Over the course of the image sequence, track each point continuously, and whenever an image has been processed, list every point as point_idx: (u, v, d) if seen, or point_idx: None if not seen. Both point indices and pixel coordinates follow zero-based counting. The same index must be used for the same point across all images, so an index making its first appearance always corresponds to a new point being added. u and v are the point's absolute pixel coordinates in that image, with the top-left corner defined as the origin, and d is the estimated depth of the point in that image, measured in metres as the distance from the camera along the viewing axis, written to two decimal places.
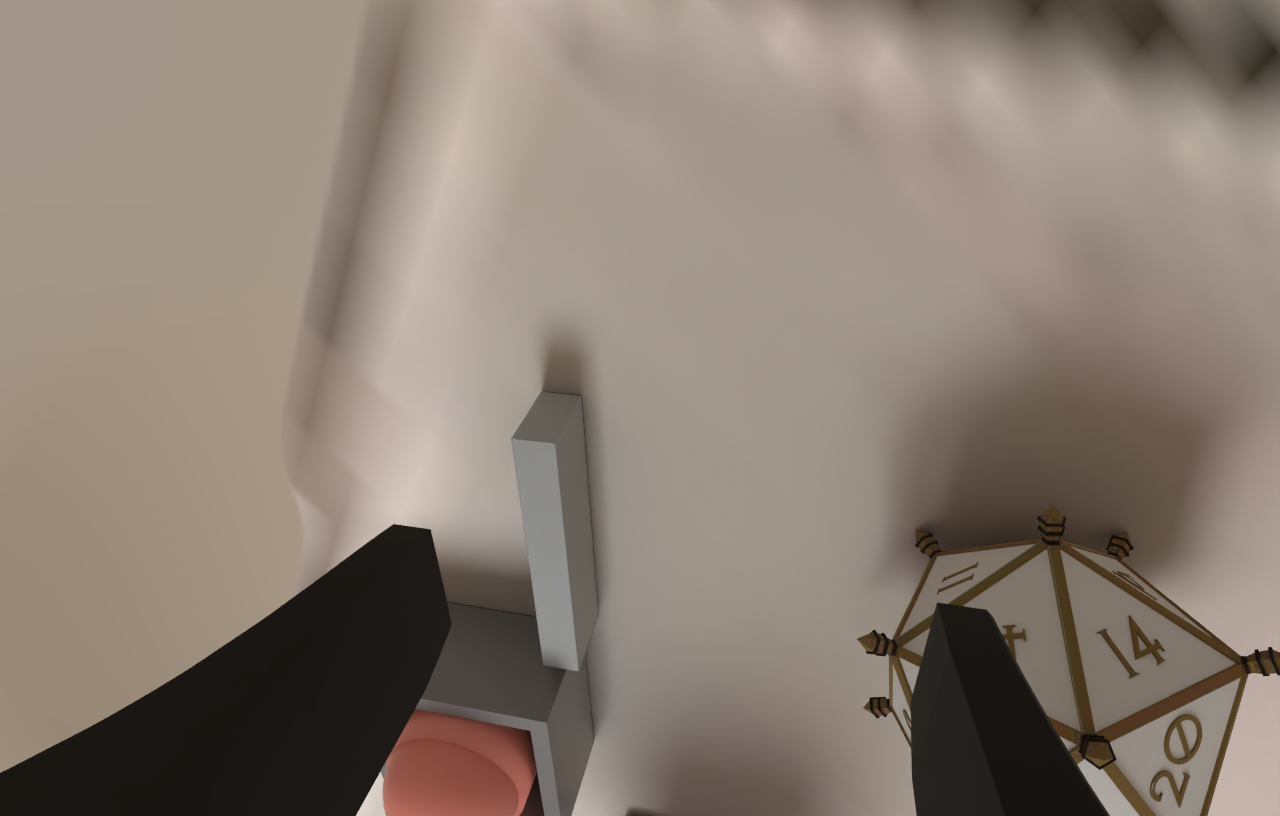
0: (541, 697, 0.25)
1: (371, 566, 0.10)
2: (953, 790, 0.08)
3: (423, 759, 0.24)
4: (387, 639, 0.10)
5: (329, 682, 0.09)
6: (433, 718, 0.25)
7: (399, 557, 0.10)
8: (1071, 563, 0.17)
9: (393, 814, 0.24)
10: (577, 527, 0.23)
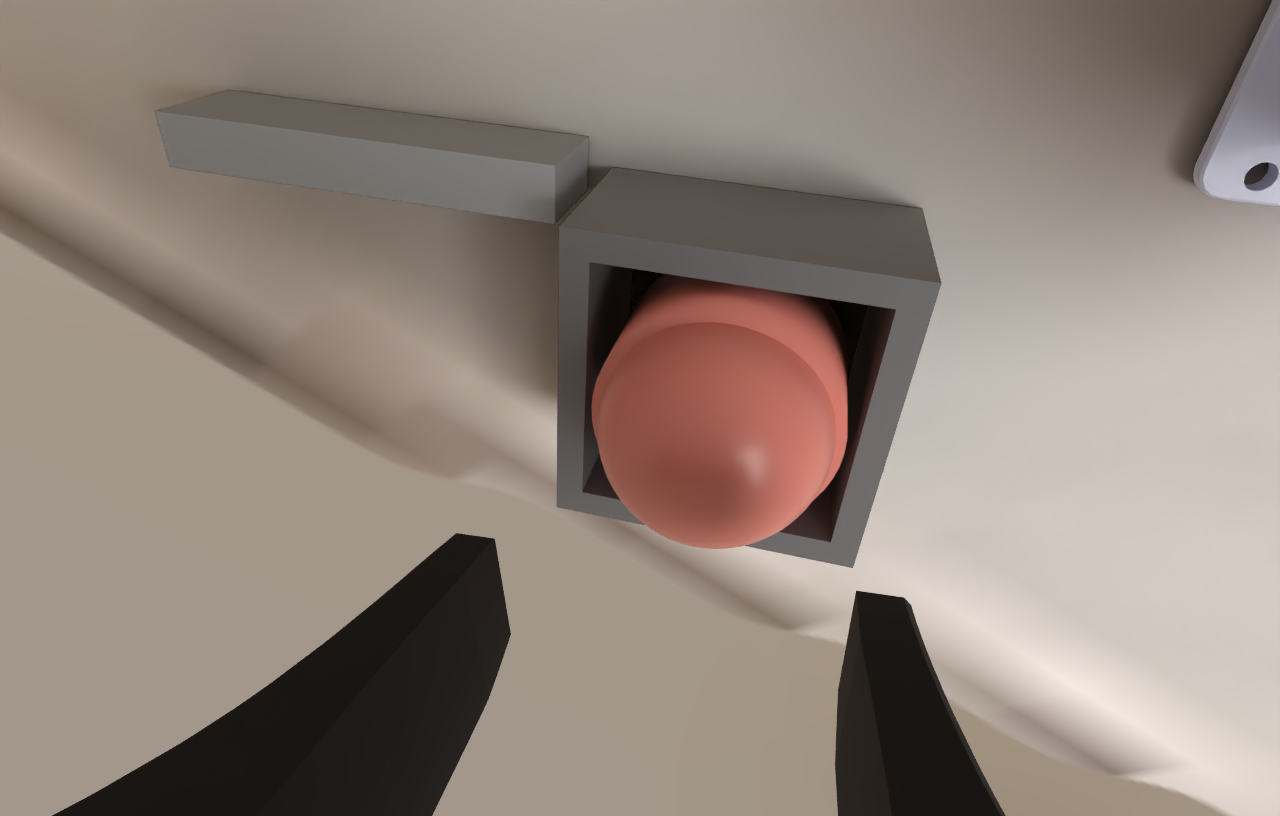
0: None
1: (441, 577, 0.10)
2: (859, 772, 0.09)
3: None
4: (456, 651, 0.10)
5: (405, 697, 0.09)
6: None
7: (468, 567, 0.10)
8: None
9: (649, 524, 0.14)
10: (345, 121, 0.17)
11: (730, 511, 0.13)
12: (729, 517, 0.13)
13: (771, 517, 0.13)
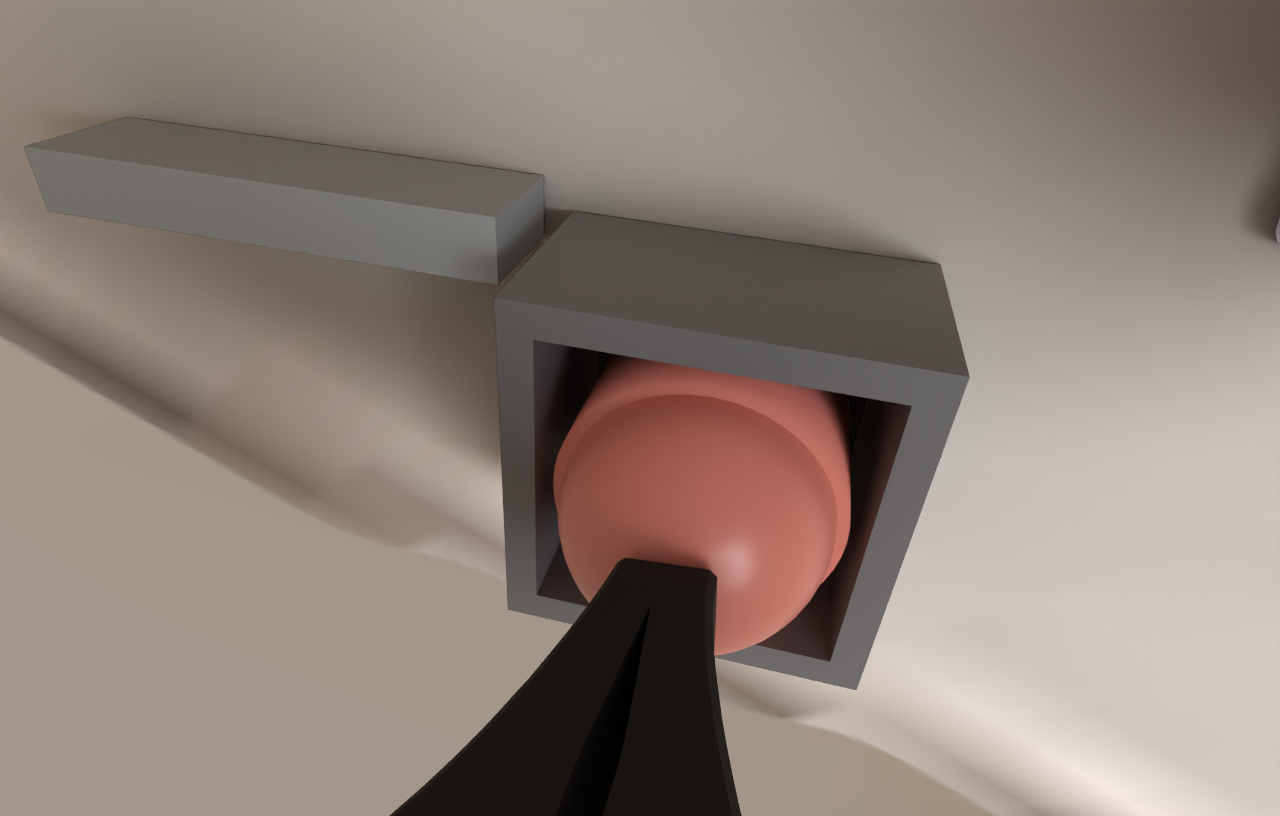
0: None
1: (629, 607, 0.09)
2: None
3: None
4: None
5: (610, 736, 0.08)
6: None
7: (652, 596, 0.10)
8: None
9: None
10: (253, 157, 0.14)
11: None
12: None
13: (760, 627, 0.11)
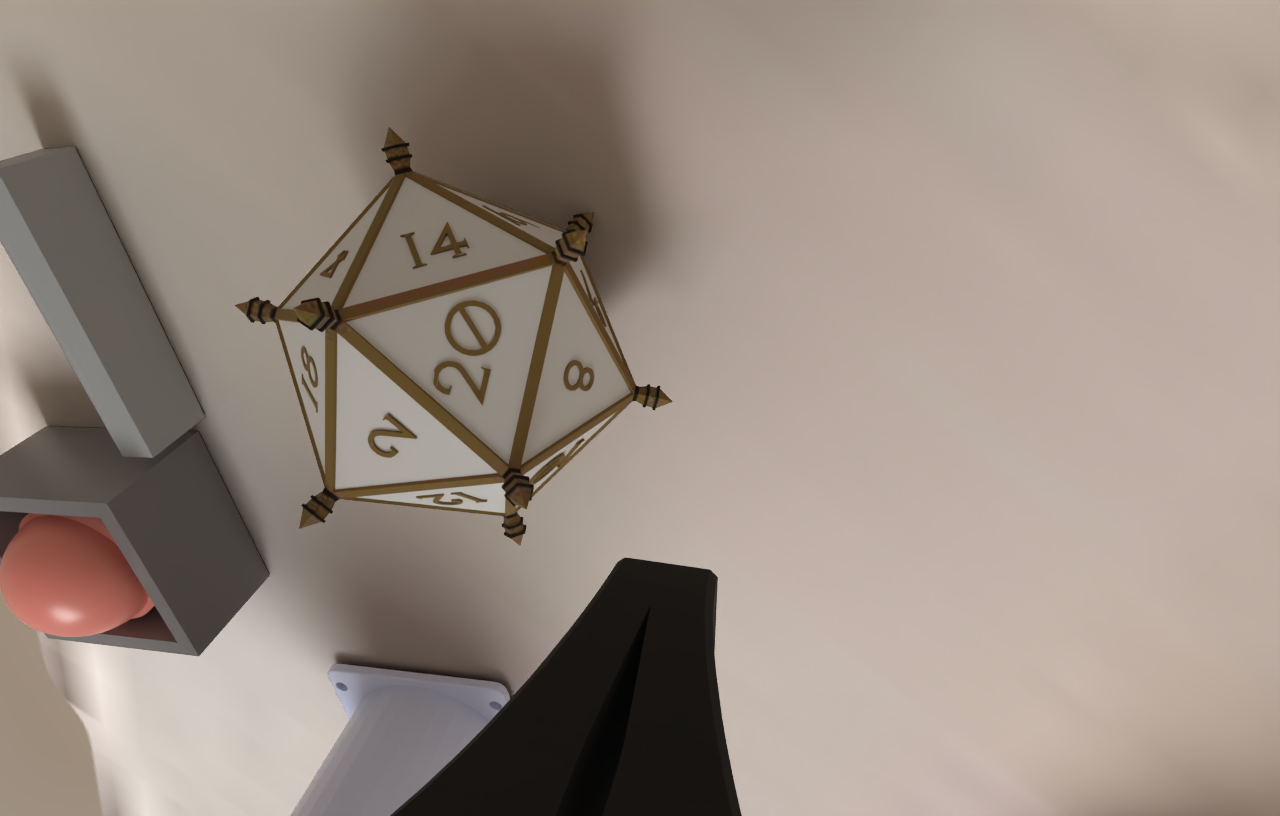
0: (116, 486, 0.24)
1: (629, 606, 0.09)
2: None
3: (28, 531, 0.25)
4: None
5: (610, 736, 0.08)
6: None
7: (652, 596, 0.10)
8: (411, 187, 0.16)
9: (0, 585, 0.25)
10: (103, 291, 0.22)
11: (37, 628, 0.25)
12: (34, 627, 0.25)
13: (52, 634, 0.25)
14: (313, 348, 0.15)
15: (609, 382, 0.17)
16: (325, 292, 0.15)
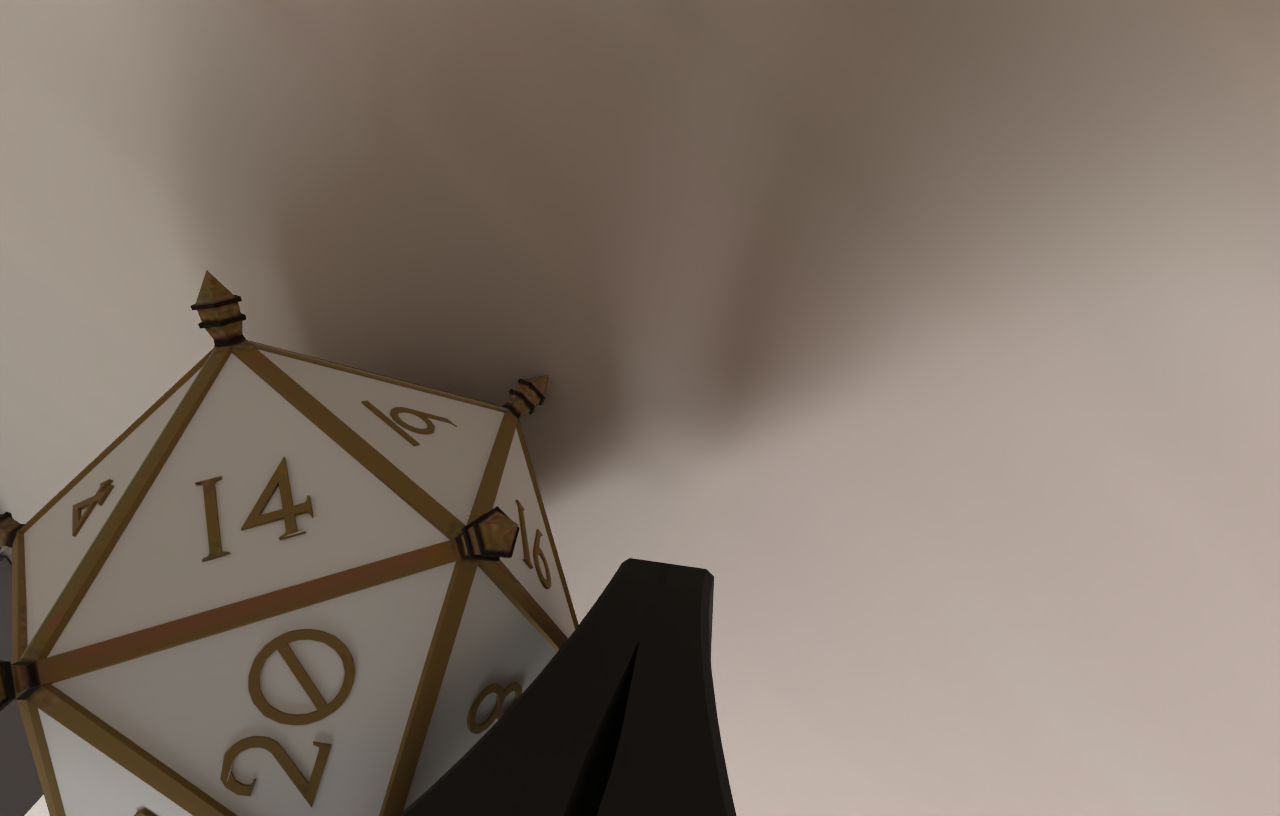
0: None
1: (634, 607, 0.09)
2: None
3: None
4: None
5: (616, 737, 0.08)
6: None
7: (658, 597, 0.10)
8: (236, 375, 0.09)
9: None
10: None
11: None
12: None
13: None
14: None
15: None
16: (53, 573, 0.08)
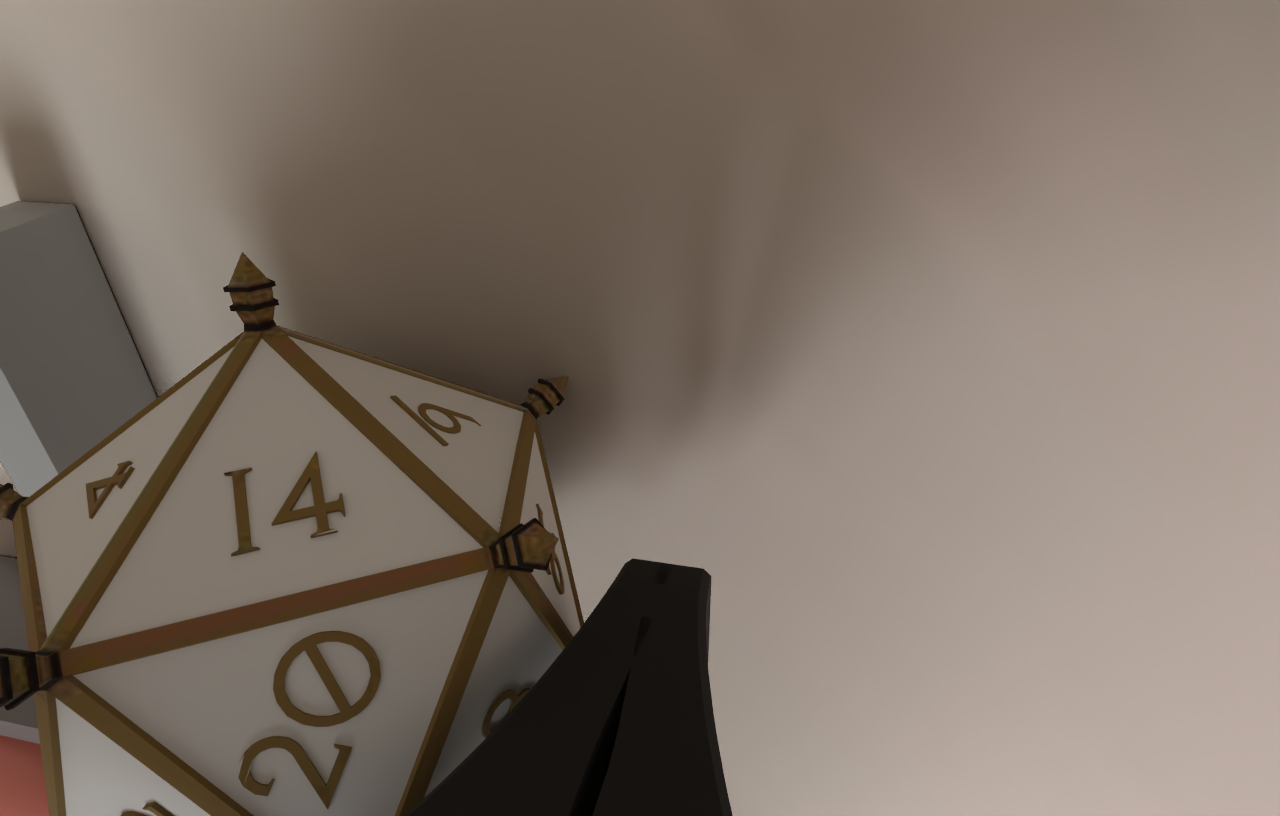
0: None
1: (638, 608, 0.09)
2: None
3: None
4: None
5: None
6: None
7: (661, 597, 0.10)
8: (267, 362, 0.09)
9: None
10: (103, 428, 0.14)
11: None
12: None
13: None
14: None
15: None
16: (70, 557, 0.08)
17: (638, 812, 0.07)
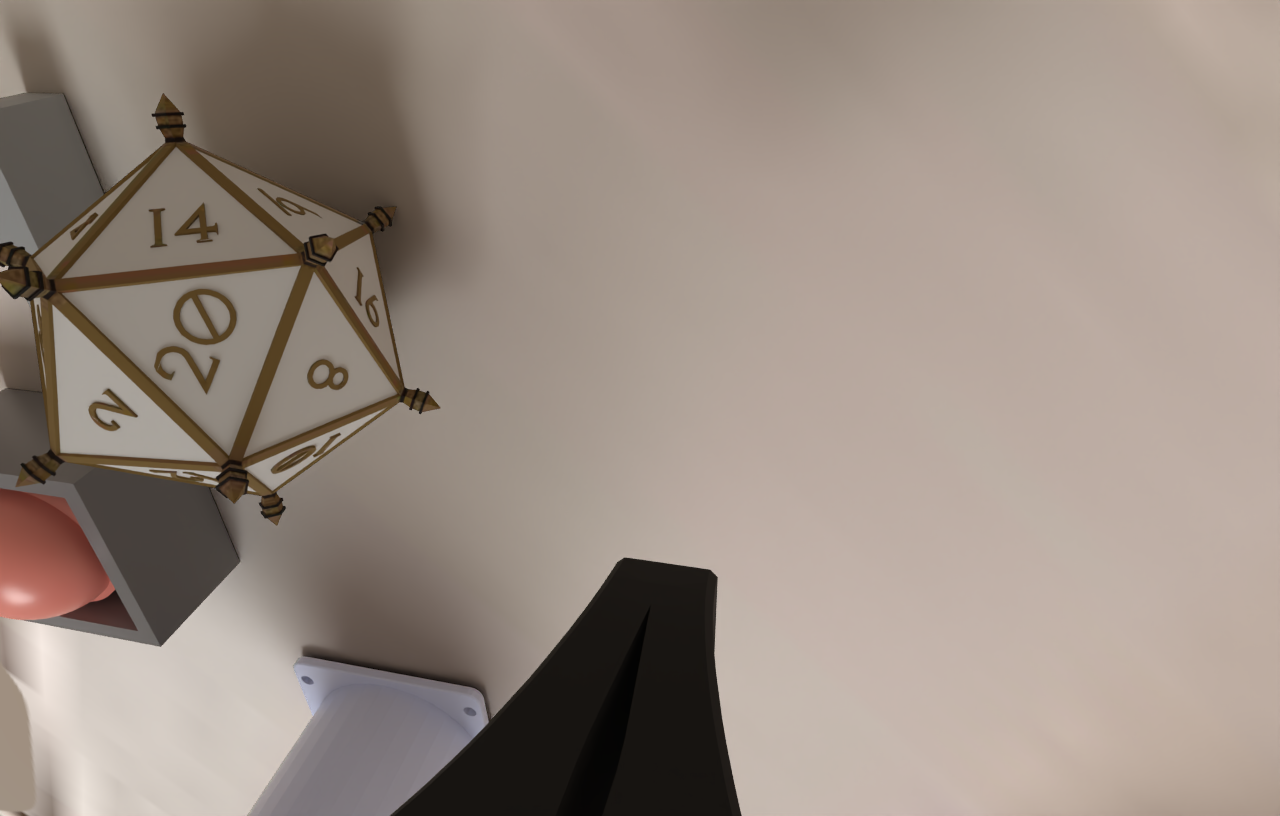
0: None
1: (629, 607, 0.09)
2: None
3: None
4: None
5: (610, 736, 0.08)
6: None
7: (652, 596, 0.10)
8: (178, 158, 0.15)
9: None
10: None
11: None
12: None
13: (2, 616, 0.24)
14: None
15: (369, 382, 0.17)
16: (60, 255, 0.14)
17: (647, 814, 0.07)
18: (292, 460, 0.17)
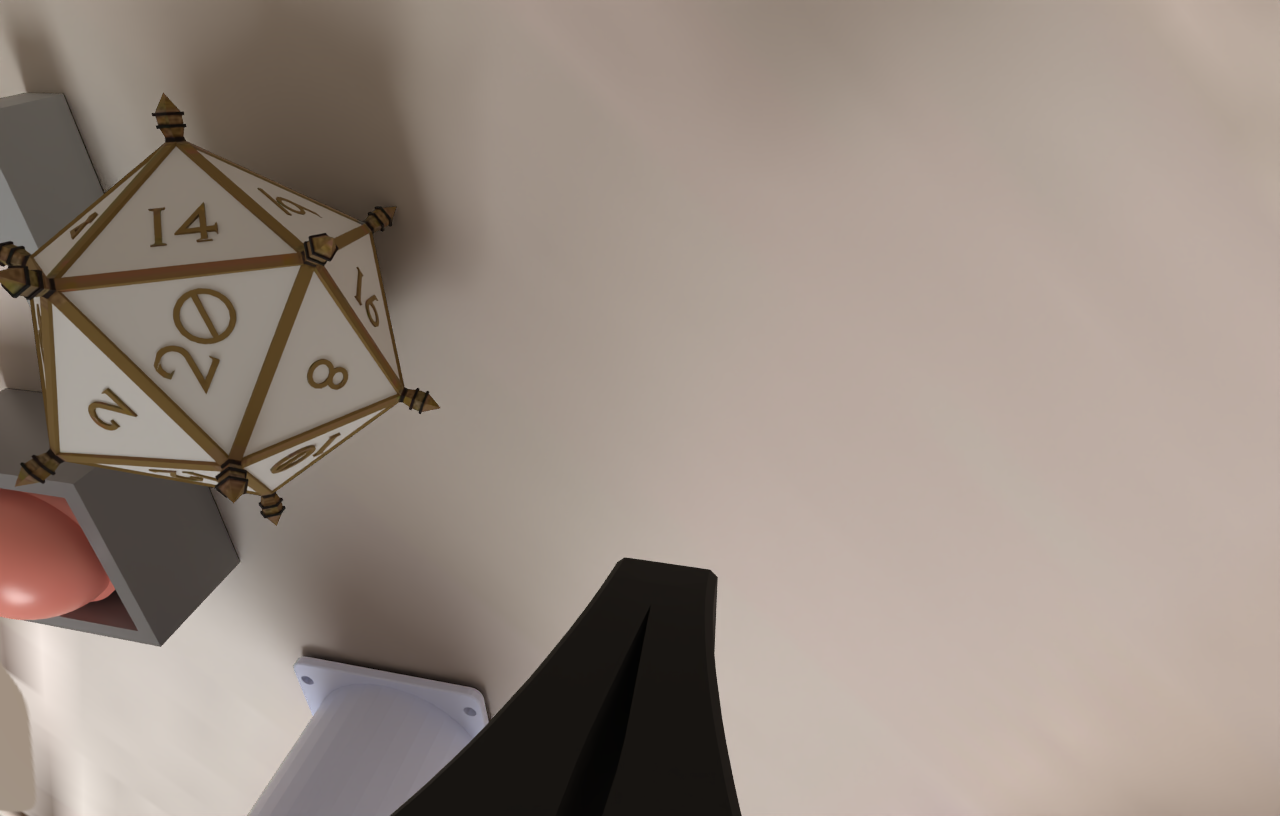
0: None
1: (629, 607, 0.09)
2: None
3: None
4: None
5: (610, 736, 0.08)
6: None
7: (652, 596, 0.10)
8: (178, 158, 0.15)
9: None
10: None
11: None
12: None
13: (2, 616, 0.24)
14: None
15: (368, 382, 0.17)
16: (60, 254, 0.14)
17: (647, 814, 0.07)
18: (292, 460, 0.17)
